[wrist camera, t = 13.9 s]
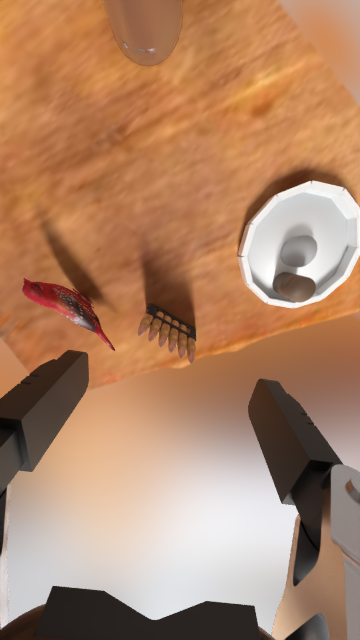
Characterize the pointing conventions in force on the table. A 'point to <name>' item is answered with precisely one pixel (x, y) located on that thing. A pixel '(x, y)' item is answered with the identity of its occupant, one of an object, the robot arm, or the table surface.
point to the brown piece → (294, 286)
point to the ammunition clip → (169, 331)
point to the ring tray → (301, 241)
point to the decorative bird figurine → (65, 305)
